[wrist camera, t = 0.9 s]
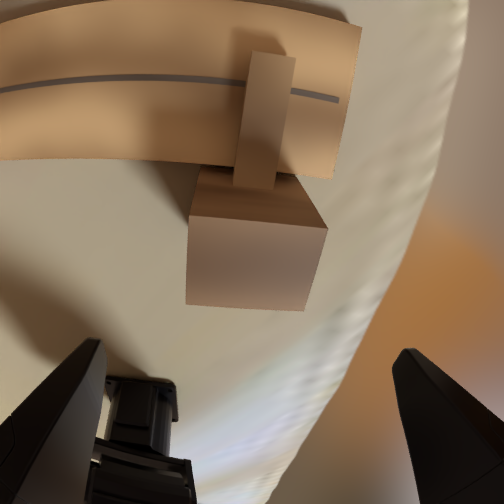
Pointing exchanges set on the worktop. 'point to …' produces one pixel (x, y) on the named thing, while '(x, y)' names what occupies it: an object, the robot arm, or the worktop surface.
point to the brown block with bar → (254, 210)
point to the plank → (169, 81)
